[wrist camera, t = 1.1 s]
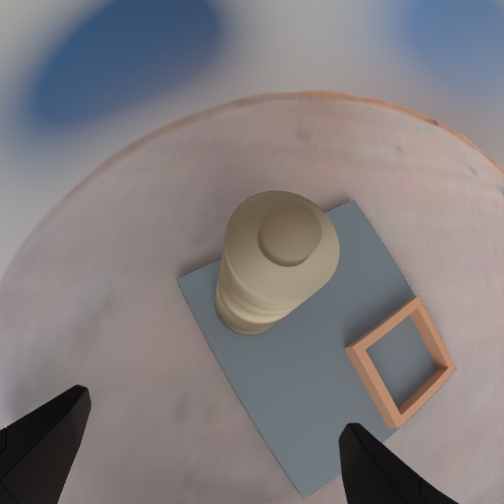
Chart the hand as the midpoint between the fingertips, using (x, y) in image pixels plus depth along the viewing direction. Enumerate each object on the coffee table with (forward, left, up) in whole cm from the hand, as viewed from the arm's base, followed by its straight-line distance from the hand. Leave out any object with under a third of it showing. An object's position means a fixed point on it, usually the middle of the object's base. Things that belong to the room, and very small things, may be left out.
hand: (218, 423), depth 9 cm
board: (-1, -11, -13) cm, 17 cm away
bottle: (+5, -6, -12) cm, 14 cm away
